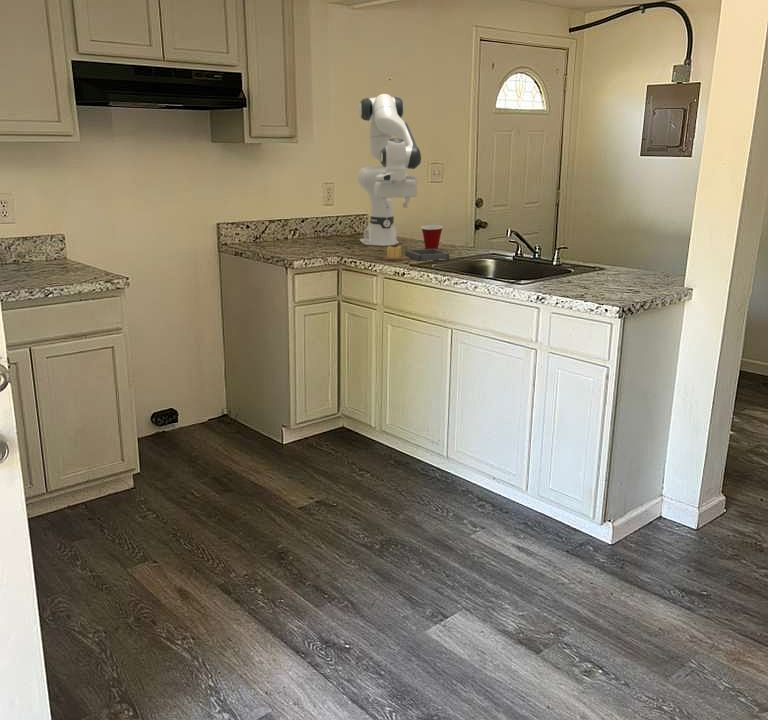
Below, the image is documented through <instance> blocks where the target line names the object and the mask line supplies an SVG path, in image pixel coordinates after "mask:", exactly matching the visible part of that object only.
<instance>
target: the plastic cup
mask: <svg viewBox="0 0 768 720" xmlns="http://www.w3.org/2000/svg"><path fill="white" fill-rule="evenodd" d="M443 228H444V226H442V225H439V224H432V225H431V224H430V225H429V224H428V225H424V226H421V227H420V229H421V230H422V231H421V232H422V236H423V242H424V249H437V250H439V244H440V240H441V235H442V231H443Z"/></svg>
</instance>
